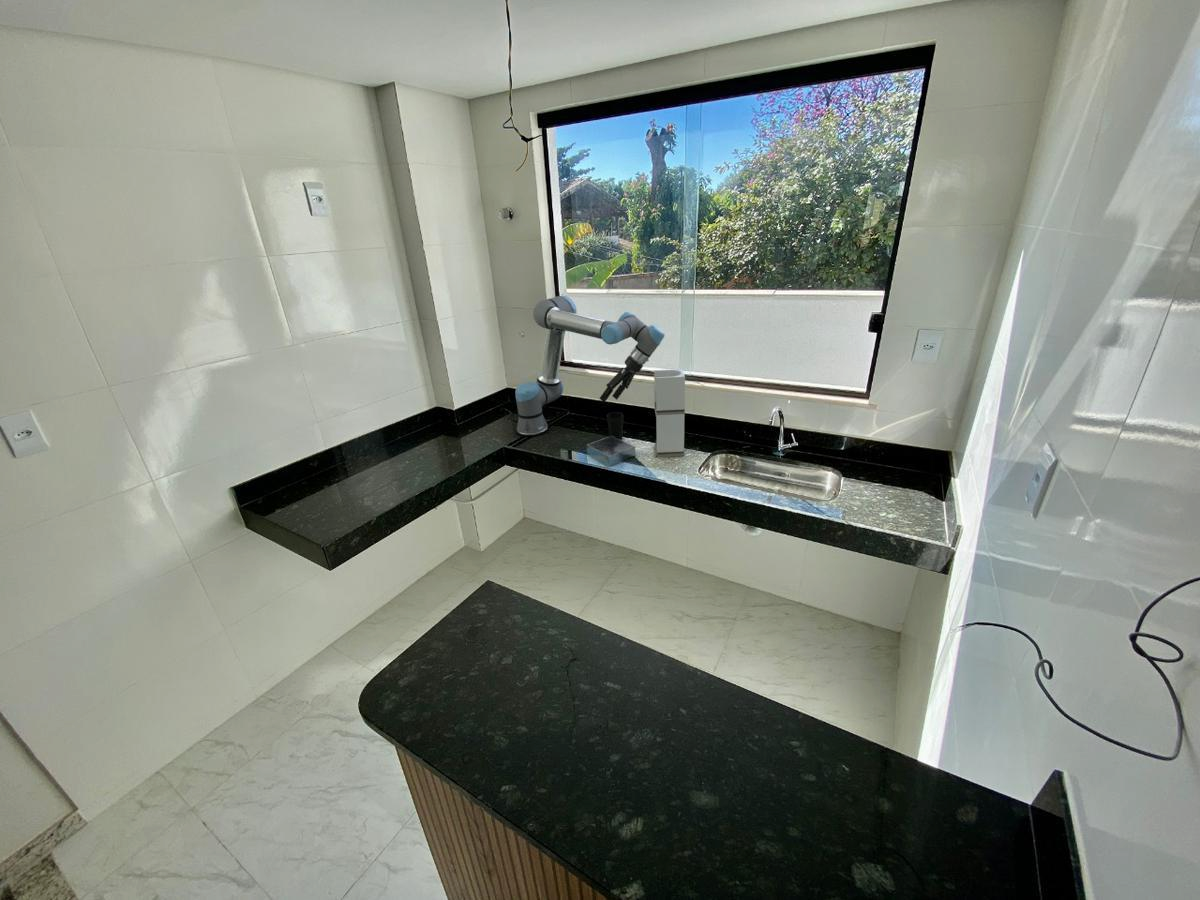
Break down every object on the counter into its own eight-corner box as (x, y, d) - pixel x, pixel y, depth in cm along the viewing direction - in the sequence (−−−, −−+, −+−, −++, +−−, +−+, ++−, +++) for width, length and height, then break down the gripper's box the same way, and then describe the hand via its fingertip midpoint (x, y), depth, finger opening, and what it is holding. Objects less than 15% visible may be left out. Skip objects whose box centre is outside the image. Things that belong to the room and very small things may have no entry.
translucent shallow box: (587, 453, 214) (586, 444, 212) (612, 444, 221) (611, 435, 219) (609, 466, 202) (608, 456, 200) (635, 455, 209) (634, 446, 207)
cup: (624, 435, 229) (623, 411, 224) (624, 442, 222) (623, 418, 217) (608, 435, 230) (607, 412, 224) (607, 442, 223) (605, 418, 218)
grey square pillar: (680, 445, 216) (681, 368, 201) (683, 455, 206) (685, 376, 191) (655, 446, 216) (654, 370, 201) (657, 456, 207) (656, 378, 192)
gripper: (632, 366, 190) (602, 407, 199) (653, 364, 213) (625, 401, 221) (618, 354, 192) (589, 395, 201) (640, 354, 214) (613, 391, 223)
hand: (608, 399), depth 211 cm, fingers open, 13 cm apart
